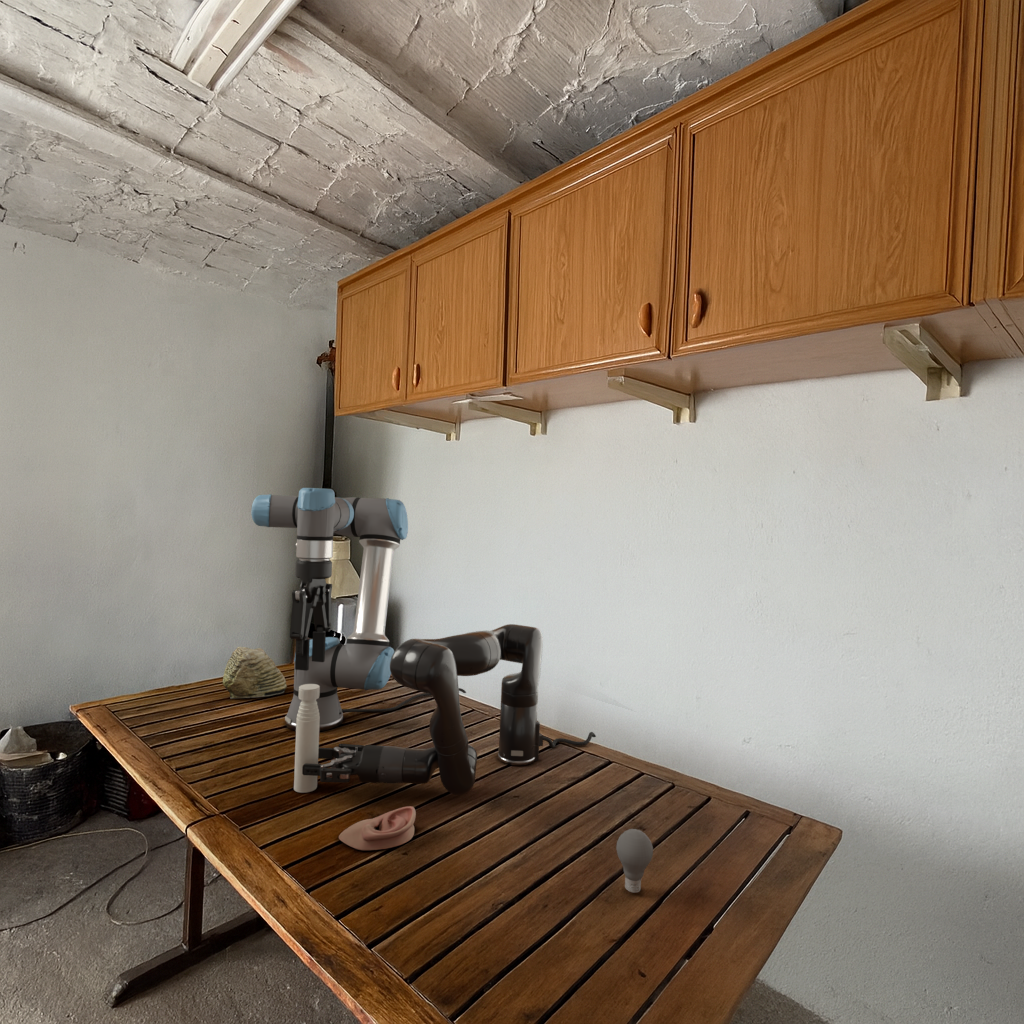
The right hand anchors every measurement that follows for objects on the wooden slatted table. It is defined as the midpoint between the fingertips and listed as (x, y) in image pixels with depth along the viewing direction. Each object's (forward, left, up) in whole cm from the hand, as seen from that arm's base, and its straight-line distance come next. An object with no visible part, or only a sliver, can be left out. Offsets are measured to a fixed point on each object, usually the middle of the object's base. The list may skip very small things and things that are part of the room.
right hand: (309, 760), depth 137 cm
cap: (+1, -1, +16) cm, 16 cm away
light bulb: (-46, +55, -6) cm, 72 cm away
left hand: (+1, -1, +21) cm, 21 cm away
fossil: (+9, -70, -6) cm, 71 cm away
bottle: (+1, -1, -6) cm, 6 cm away
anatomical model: (-10, +24, -6) cm, 27 cm away
